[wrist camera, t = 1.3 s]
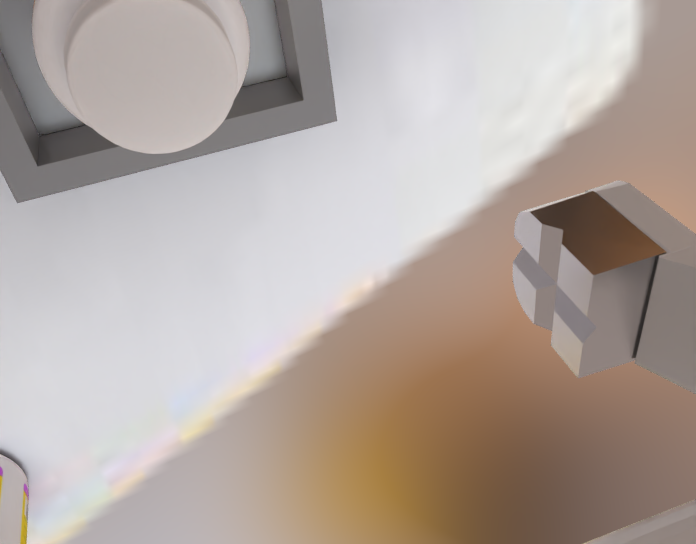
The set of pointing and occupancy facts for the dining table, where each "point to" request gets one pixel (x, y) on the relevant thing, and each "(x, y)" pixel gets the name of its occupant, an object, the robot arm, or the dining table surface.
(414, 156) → the dining table surface
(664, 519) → the robot arm
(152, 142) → the supplement bottle
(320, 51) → the charcoal bay
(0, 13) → the dining table surface
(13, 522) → the supplement bottle
